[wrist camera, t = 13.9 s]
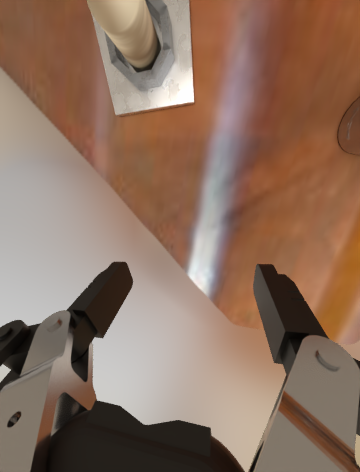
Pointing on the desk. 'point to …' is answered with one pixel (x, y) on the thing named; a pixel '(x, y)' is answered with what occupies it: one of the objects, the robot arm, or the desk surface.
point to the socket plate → (174, 79)
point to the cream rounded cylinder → (129, 30)
